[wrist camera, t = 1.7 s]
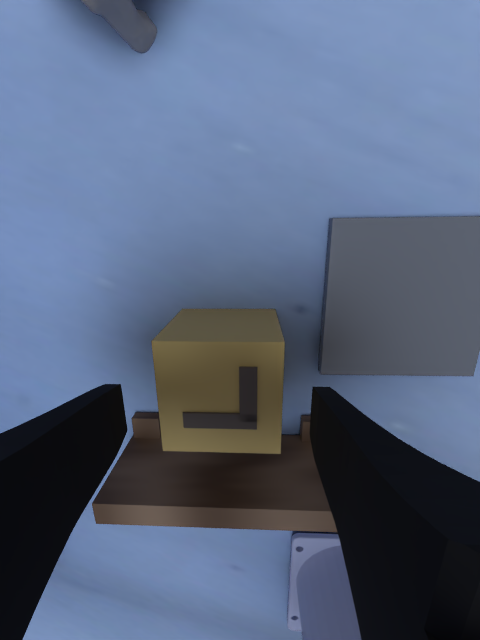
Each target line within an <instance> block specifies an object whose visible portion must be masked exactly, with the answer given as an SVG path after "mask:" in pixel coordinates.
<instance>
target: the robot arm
mask: <svg viewBox="0 0 480 640" xmlns="http://www.w3.org/2000/svg"><path fill="white" fill-rule="evenodd" d="M126 433H127V424H126V417H125V410H124V403H123V396H122V389H121V384H104V385H102V386H99V387H97V388H95V389H92V390H90V391H88V392H86V393H84V394H82V395H80V396H78V397H76V398H74V399H72V400H70V401H68V402H66V403H64V404H62V405H60V406H58V407H57V408H55V409H53V410H51V411H48V412H46V413H44V414H42V415H40V416H38V417H36V418H34V419H32V420H29V421H27V422H25V423H23V424H21V425H19V426H17V427H14V428H12V429H10V430H8V431H5V432H3V433H0V640H22V639H23V637H24V635H25V632H26V630H27V628H28V625H29V623H30V621H31V618H32V616H33V614H34V611H35V609H36V607H37V604H38V602H39V600H40V598H41V596H42V593H43V591H44V589H45V587H46V585H47V583H48V580H49V578H50V576H51V574H52V572H53V569H54V567H55V565H56V563H57V561H58V559H59V557H60V555H61V553H62V551H63V549H64V547H65V545H66V542H67V540H68V538H69V536H70V534H71V532H72V530H73V528H74V527H75V525H76V523H77V521H78V519H79V518H80V516H81V514H82V512H83V511H84V509H85V507H86V506H87V504H88V502H89V501H90V499H91V498H92V496H93V494H94V493H95V491H96V489H97V488H98V486H99V484H100V483H101V481H102V479H103V478H104V476H105V474H106V473H107V471H108V469H109V468H110V466H111V464H112V463H113V461H114V459H115V457H116V456H117V454H118V451H119V449H120V447H121V445H122V442H123V440H124V438H125V435H126ZM309 435H310V440H311V445H312V451H313V455H314V460H315V463H316V467H317V470H318V473H319V476H320V479H321V482H322V485H323V488H324V491H325V494H326V497H327V500H328V503H329V507H330V510H331V513H332V516H333V519H334V522H335V525H336V529H337V532H338V534H320V533H296V534H294V535H293V536H292V542H291V560H290V577H289V595H288V613H287V625H288V628H289V629H290V630H292V631H302V639H303V640H480V482H479V481H477V480H474V479H472V478H470V477H468V476H466V475H464V474H462V473H460V472H458V471H456V470H454V469H452V468H450V467H448V466H446V465H444V464H442V463H440V462H438V461H436V460H434V459H432V458H431V457H429V456H427V455H425V454H423V453H422V452H420V451H418V450H417V449H415V448H413V447H412V446H410V445H408V444H406V443H405V442H403V441H402V440H400V439H398V438H397V437H395V436H394V435H392V434H391V433H389V432H388V431H386V430H385V429H384V428H382V427H381V426H379V425H378V424H376V423H375V422H374V421H372V420H371V419H370V418H368V417H367V416H366V415H364V414H363V413H362V412H360V411H359V410H358V409H357V408H355V407H354V406H353V405H352V404H350V403H349V402H348V401H347V400H346V399H344V398H343V397H342V396H341V395H339V394H338V393H337V392H336V391H334V390H333V389H332V388H330V387H313V390H312V404H311V418H310V432H309Z"/></svg>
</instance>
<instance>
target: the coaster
mask: <svg viewBox="0 0 480 640" xmlns="http://www.w3.org/2000/svg"><path fill="white" fill-rule="evenodd" d="M479 351H480V216H475V217H396V218H332V219H329V232H328V246H327V259H326V273H325V286H324V299H323V313H322V326H321V339H320V353H319V366H318V370H319V372H320V374H321V375H409V376H473V375H474V371H475V367H476V363H477V359H478V355H479Z"/></svg>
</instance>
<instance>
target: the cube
mask: <svg viewBox="0 0 480 640" xmlns="http://www.w3.org/2000/svg"><path fill="white" fill-rule="evenodd" d="M151 342H152V351H153V361H154V370H155V380H156V390H157V399H158V409H159V418H160V428H161V438H162V447H163V451H185V452H226V453H266V454H281V430H282V403H283V377H284V350H285V341H284V338H283V334H282V331H281V327H280V324H279V321H278V317H277V314H276V310H275V309H182V310H181V311H180V312H179V313H178V314H177V315H176V316H175V317H174V318H173V319H172V320H171V321H170V322H169V323H168V324H167V325H166V326H165V328H164V329H163V330H162V331H161V332H160V333H159V334H158V335H157V336H156V337H155V338H154V339H153V340H152V341H151Z"/></svg>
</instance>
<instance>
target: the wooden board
mask: <svg viewBox="0 0 480 640" xmlns="http://www.w3.org/2000/svg"><path fill="white" fill-rule="evenodd" d="M310 418H311V415H301V427H300V435H281V454H266V453H226V452H185V451H163V447H162V438H161V428H160V418H159V413H143V412H136V413H135V414H134V416H133V417H132V425H133V432H134V434H133V436H132V438H131V439H130V441H129V443H128V444H127V446H126V448H125V449H124V451H123V453H122V454H121V456H120V458H119V459H118V461H117V463H116V464H115V466H114V468H113V469H112V471H111V473H110V474H109V476H108V478H107V479H106V481H105V483H104V485H103V486H102V488H101V490H100V491H99V493H98V495H97V496H96V498H95V500H94V501H93V503H92V506H93V511H94V516H95V521H96V524H120V525H148V526H176V527H204V528H232V529H260V530H288V531H316V532H337V529H336V525H335V522H334V519H333V516H332V513H331V510H330V507H329V503H328V500H327V497H326V494H325V491H324V488H323V485H322V482H321V479H320V476H319V473H318V470H317V467H316V463H315V460H314V455H313V451H312V445H311V440H310V435H309V432H310Z"/></svg>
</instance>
